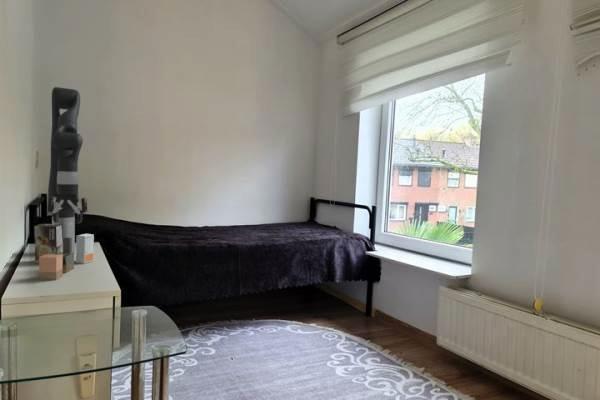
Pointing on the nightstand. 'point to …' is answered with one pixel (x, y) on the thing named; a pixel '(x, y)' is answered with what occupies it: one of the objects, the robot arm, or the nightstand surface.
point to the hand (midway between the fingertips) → (67, 222)
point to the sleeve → (68, 263)
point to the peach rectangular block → (50, 267)
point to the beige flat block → (67, 247)
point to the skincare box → (84, 248)
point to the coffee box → (48, 240)
